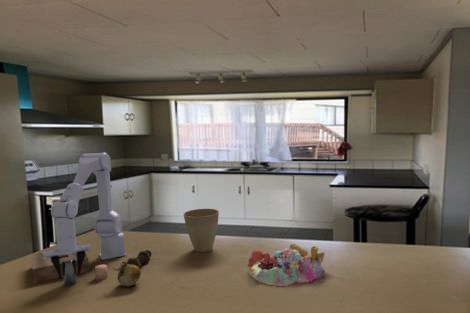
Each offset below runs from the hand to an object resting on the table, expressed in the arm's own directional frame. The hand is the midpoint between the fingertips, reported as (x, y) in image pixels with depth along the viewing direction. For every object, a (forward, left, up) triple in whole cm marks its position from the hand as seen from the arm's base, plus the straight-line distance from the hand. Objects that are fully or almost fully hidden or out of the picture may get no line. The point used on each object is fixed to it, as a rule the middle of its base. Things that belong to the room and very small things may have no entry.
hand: (69, 275), depth 123 cm
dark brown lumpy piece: (-25, -3, -3) cm, 25 cm away
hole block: (+2, -17, -3) cm, 17 cm away
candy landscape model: (-66, +34, -3) cm, 75 cm away
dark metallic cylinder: (0, 0, -3) cm, 3 cm away
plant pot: (-52, -5, -3) cm, 52 cm away
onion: (-17, +13, -3) cm, 22 cm away
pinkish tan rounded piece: (-10, +1, -3) cm, 10 cm away
